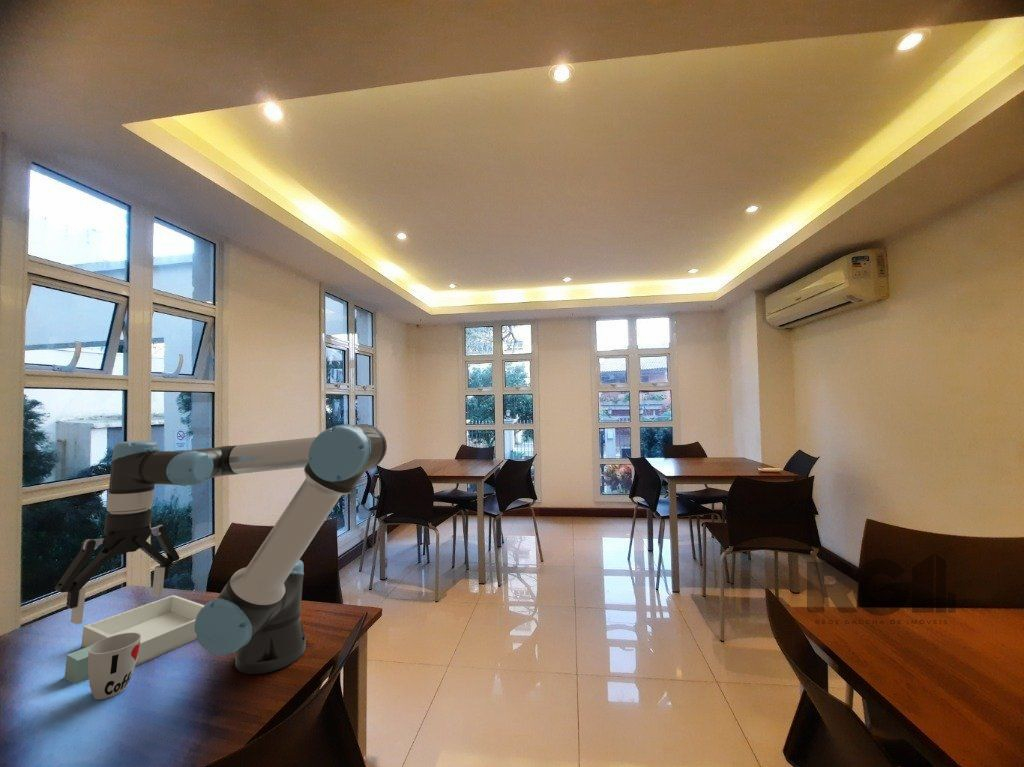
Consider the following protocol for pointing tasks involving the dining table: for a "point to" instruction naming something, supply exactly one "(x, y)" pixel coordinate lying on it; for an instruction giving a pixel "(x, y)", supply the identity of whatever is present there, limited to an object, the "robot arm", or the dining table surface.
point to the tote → (150, 626)
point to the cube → (77, 666)
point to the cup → (112, 664)
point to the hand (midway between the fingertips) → (119, 608)
